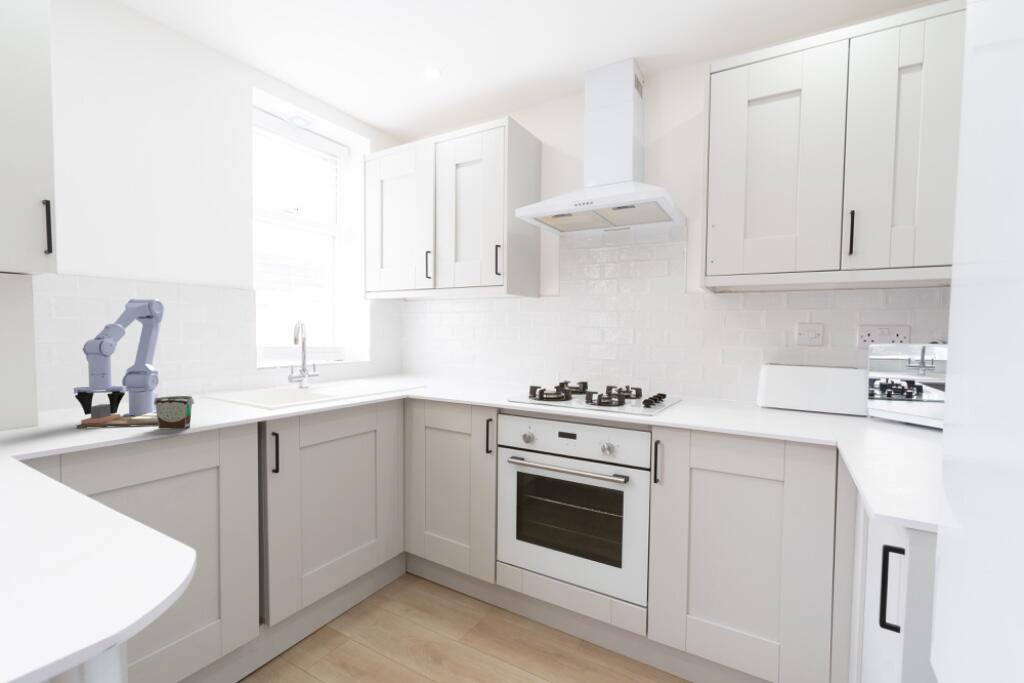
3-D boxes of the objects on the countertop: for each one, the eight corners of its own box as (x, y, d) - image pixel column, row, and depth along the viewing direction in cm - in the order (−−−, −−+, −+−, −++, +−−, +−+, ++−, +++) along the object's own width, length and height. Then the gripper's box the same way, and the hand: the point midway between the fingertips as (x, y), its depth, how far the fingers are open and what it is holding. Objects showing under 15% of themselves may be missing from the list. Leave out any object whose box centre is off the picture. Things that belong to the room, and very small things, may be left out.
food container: (204, 425, 155) (203, 396, 154) (189, 429, 149) (188, 398, 148) (170, 424, 156) (169, 395, 156) (154, 428, 150) (153, 398, 150)
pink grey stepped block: (102, 417, 162) (101, 403, 162) (120, 417, 163) (119, 402, 163) (81, 423, 152) (80, 408, 152) (100, 423, 153) (100, 407, 153)
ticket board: (105, 419, 164) (105, 413, 164) (183, 417, 169) (183, 411, 169) (76, 428, 150) (76, 421, 150) (162, 425, 155) (162, 418, 155)
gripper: (66, 375, 152) (67, 416, 152) (116, 375, 154) (117, 415, 155) (81, 373, 159) (83, 412, 159) (129, 372, 161) (130, 411, 162)
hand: (101, 413), depth 157 cm, fingers open, 7 cm apart
